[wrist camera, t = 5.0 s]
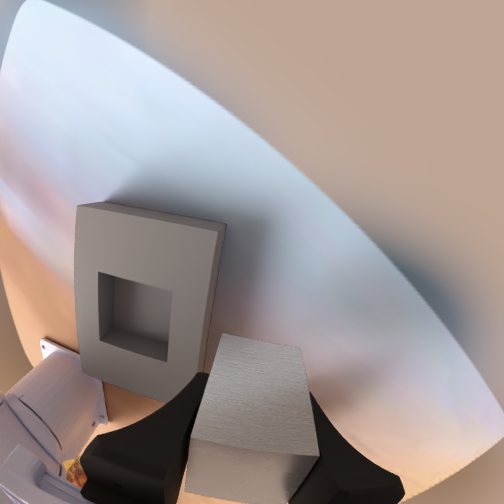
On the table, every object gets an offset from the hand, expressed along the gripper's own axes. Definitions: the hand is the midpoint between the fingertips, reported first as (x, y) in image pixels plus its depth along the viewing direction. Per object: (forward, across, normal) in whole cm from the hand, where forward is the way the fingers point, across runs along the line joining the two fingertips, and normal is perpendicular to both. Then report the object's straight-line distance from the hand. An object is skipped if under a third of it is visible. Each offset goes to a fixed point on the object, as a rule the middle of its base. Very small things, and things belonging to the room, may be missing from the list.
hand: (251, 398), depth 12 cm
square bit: (+2, 0, 0) cm, 2 cm away
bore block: (+9, +8, +1) cm, 13 cm away
